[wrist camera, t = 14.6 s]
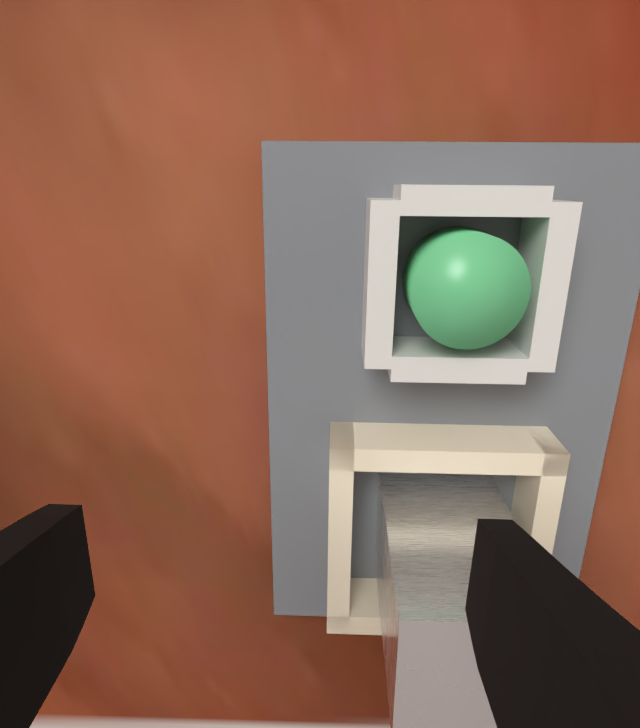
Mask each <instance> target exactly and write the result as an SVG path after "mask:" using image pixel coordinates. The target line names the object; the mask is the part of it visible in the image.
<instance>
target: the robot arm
mask: <svg viewBox="0 0 640 728" xmlns="http://www.w3.org/2000/svg"><path fill="white" fill-rule="evenodd" d="M94 597H95V590H94V584H93V577H92V570H91V564H90V557H89V551H88V544H87V537H86V531H85V524H84V517H83V511H82V505H61V504H48V505H46V506H44V507H42V508H40V509H38V510H36V511H34V512H33V513H31V514H29V515H27V516H25V517H24V518H22V519H20V520H18V521H17V522H15V523H13V524H12V525H10V526H8V527H6V528H5V529H3V530H1V531H0V728H29V727H30V725H31V723H32V722H33V720H34V718H35V716H36V715H37V713H38V711H39V709H40V708H41V706H42V704H43V702H44V701H45V699H46V697H47V695H48V694H49V692H50V690H51V688H52V686H53V685H54V683H55V681H56V679H57V677H58V676H59V674H60V672H61V670H62V668H63V667H64V665H65V663H66V661H67V659H68V657H69V656H70V654H71V652H72V650H73V648H74V645H75V643H76V641H77V638H78V636H79V634H80V632H81V629H82V627H83V625H84V622H85V620H86V617H87V615H88V612H89V610H90V607H91V605H92V602H93V599H94ZM465 611H466V616H467V621H468V626H469V631H470V636H471V641H472V645H473V650H474V654H475V659H476V664H477V668H478V671H479V674H480V677H481V680H482V683H483V686H484V689H485V692H486V695H487V698H488V702H489V705H490V708H491V711H492V714H493V717H494V720H495V723H496V726H497V728H640V630H638V629H637V628H636V627H634V626H633V625H632V624H631V623H630V622H628V621H627V620H626V619H625V618H624V617H622V616H621V615H620V614H619V613H618V612H616V611H615V610H614V609H613V608H611V607H610V606H609V605H608V604H607V603H606V602H604V601H603V600H602V599H601V598H600V597H599V596H597V595H596V594H595V593H594V592H593V591H592V590H591V589H589V588H588V587H587V586H586V585H585V584H584V583H583V582H581V581H580V580H579V579H578V578H577V577H576V576H575V575H574V574H572V573H571V572H570V571H569V570H568V569H567V568H566V567H565V566H563V565H562V564H561V563H560V562H559V561H558V560H557V559H556V558H555V557H554V556H552V555H551V554H550V553H549V552H548V551H547V550H546V549H545V548H544V547H543V546H541V545H540V544H539V543H538V542H537V541H536V540H535V539H534V538H533V537H532V536H530V535H529V534H528V533H527V532H526V531H525V530H524V529H523V528H521V527H520V526H519V525H518V524H517V523H516V522H514V521H513V520H508V519H478V521H477V528H476V535H475V543H474V550H473V557H472V564H471V571H470V578H469V585H468V592H467V599H466V606H465Z"/></svg>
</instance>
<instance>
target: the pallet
mask: <svg viewBox="0 0 640 728" xmlns="http://www.w3.org/2000/svg"><path fill="white" fill-rule="evenodd" d="M261 144H262V182H263V220H264V257H265V295H266V332H267V370H268V407H269V445H270V482H271V520H272V557H273V595H274V615H299V616H327V633H330V634H360V635H382V630H381V619H380V609H379V598H378V588H377V577H376V567H375V542H376V519H377V495H378V472H400V473H441V474H481V475H491V477H492V478H493V480H494V482H495V484H496V486H497V488H498V490H499V492H500V494H501V496H502V498H503V500H504V502H505V504H506V505H507V507H508V509H509V511H510V513H511V515H512V517H513V519H514V521H515V522H516V523H517V524H518V525H519V526H520V527H521V528H523V529H524V530H525V531H526V532H527V533H528V534H529V535H530V536H532V537H533V538H534V539H535V540H536V541H537V542H538V543H539V544H540V545H541V546H543V547H544V548H545V549H546V550H547V551H548V552H549V553H550V554H551V555H552V556H554V557H555V558H556V559H557V560H558V561H559V562H560V563H561V564H562V565H563V566H565V567H566V568H567V569H568V570H569V571H570V572H571V573H572V574H574V575H575V576H576V577H577V578H578V579H579V576H580V571H581V566H582V561H583V557H584V552H585V547H586V542H587V538H588V533H589V528H590V523H591V518H592V514H593V509H594V504H595V499H596V495H597V490H598V485H599V480H600V476H601V471H602V466H603V461H604V456H605V452H606V447H607V442H608V437H609V433H610V428H611V423H612V418H613V414H614V409H615V404H616V399H617V395H618V390H619V385H620V380H621V375H622V371H623V366H624V361H625V356H626V352H627V347H628V342H629V337H630V333H631V328H632V323H633V318H634V313H635V309H636V304H637V299H638V294H639V290H640V143H553V142H384V141H261ZM455 226H460V227H467V228H472V229H475V230H478V231H480V232H483V233H486V234H489V235H492V236H495V237H497V238H500V239H502V240H504V241H506V242H507V243H509V244H510V245H511V246H513V247H514V248H515V249H516V250H517V251H518V252H519V254H520V255H521V256H522V258H523V259H524V261H525V263H526V265H527V268H528V271H529V274H530V279H531V294H530V299H529V303H528V306H527V309H526V311H525V313H524V315H523V317H522V319H521V320H520V322H519V323H518V324H517V325H516V327H515V328H514V329H513V330H512V331H511V332H510V333H509V334H508V335H506V336H505V337H504V338H502V339H501V340H499V341H497V342H496V343H493V344H491V345H489V346H486V347H482V348H478V349H470V350H463V349H455V348H450V347H448V346H445V345H442V344H440V343H439V342H437V341H435V340H434V339H432V338H431V337H430V336H429V335H428V334H427V333H426V332H425V331H424V330H423V328H422V327H421V326H420V324H419V322H418V321H417V319H416V317H415V315H414V314H413V312H412V310H411V308H410V307H409V305H408V303H407V301H406V298H405V296H404V292H403V287H402V275H403V269H404V265H405V263H406V260H407V258H408V256H409V254H410V252H411V251H412V250H413V248H414V247H415V246H416V245H417V244H418V243H419V242H420V241H421V240H422V239H423V238H424V237H426V236H427V235H429V234H430V233H432V232H435V231H437V230H439V229H443V228H447V227H455Z"/></svg>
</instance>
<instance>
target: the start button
mask: <svg viewBox="0 0 640 728" xmlns="http://www.w3.org/2000/svg"><path fill="white" fill-rule="evenodd" d="M402 287H403V292H404V296H405V298H406V301H407V303H408V305H409V307H410V308H411V310H412V312H413V314H414V315H415V317H416V319H417V321H418V322H419V324H420V326H421V327H422V328H423V330H424V331H425V332H426V333H427V334H428V335H429V336H430V337H431V338H432V339H434V340H435V341H437V342H439V343H440V344H442V345H445V346H448V347H450V348H455V349H463V350H470V349H478V348H482V347H486V346H489V345H491V344H493V343H496V342H497V341H499V340H501V339H502V338H504V337H505V336H506V335H508V334H509V333H510V332H511V331H512V330H513V329H514V328H515V327H516V325H517V324H518V323H519V322H520V320H521V319H522V317H523V315H524V313H525V311H526V309H527V306H528V303H529V299H530V294H531V279H530V274H529V271H528V268H527V265H526V263H525V261H524V259H523V258H522V256H521V255H520V254H519V252H518V251H517V250H516V249H515V248H514V247H513V246H511V245H510V244H509V243H507V242H506V241H504V240H502V239H500V238H497V237H495V236H492V235H489V234H486V233H483V232H480V231H478V230H475V229H472V228H467V227H460V226H455V227H447V228H443V229H439V230H437V231H435V232H432V233H430V234H429V235H427V236H426V237H424V238H423V239H422V240H421V241H420V242H419V243H418V244H417V245H416V246H415V247H414V248H413V250H412V251H411V252H410V254H409V256H408V258H407V260H406V263H405V265H404V269H403V275H402Z"/></svg>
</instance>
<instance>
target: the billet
mask: <svg viewBox="0 0 640 728" xmlns="http://www.w3.org/2000/svg"><path fill="white" fill-rule="evenodd" d="M478 519H508V520H513V521H514V519H513V517H512V515H511V513H510V511H509V509H508V507H507V505H506V504H505V502H504V500H503V498H502V496H501V494H500V492H499V490H498V488H497V486H496V484H495V482H494V480H493V478H492V477H491V475H481V474H441V473H400V472H378V495H377V519H376V542H375V567H376V577H377V588H378V598H379V609H380V619H381V630H382V640H383V651H384V662H385V672H386V683H387V693H388V704H389V714H390V725H391V728H497V726H496V723H495V720H494V717H493V714H492V711H491V708H490V705H489V702H488V698H487V695H486V692H485V689H484V686H483V683H482V680H481V677H480V674H479V671H478V668H477V664H476V659H475V654H474V650H473V645H472V641H471V636H470V631H469V626H468V621H467V616H466V611H465V606H466V599H467V592H468V585H469V578H470V571H471V564H472V557H473V550H474V543H475V535H476V528H477V521H478ZM514 522H515V521H514Z"/></svg>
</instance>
